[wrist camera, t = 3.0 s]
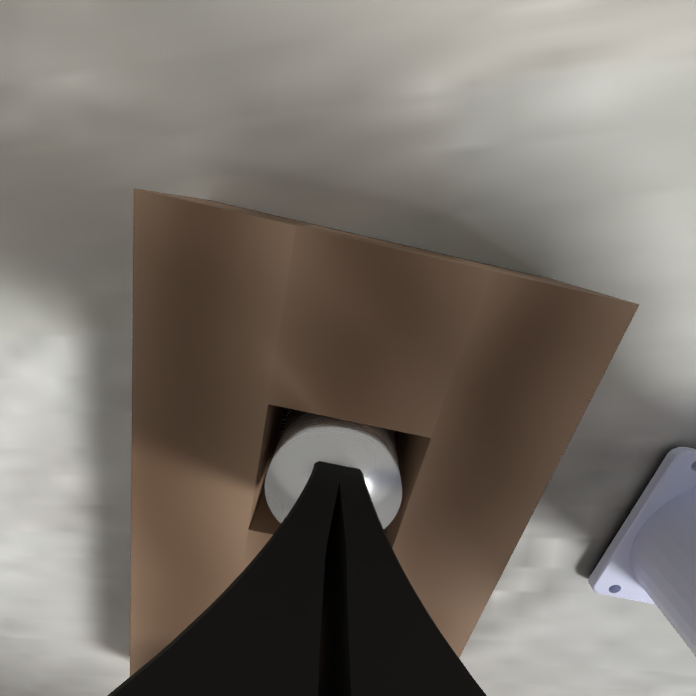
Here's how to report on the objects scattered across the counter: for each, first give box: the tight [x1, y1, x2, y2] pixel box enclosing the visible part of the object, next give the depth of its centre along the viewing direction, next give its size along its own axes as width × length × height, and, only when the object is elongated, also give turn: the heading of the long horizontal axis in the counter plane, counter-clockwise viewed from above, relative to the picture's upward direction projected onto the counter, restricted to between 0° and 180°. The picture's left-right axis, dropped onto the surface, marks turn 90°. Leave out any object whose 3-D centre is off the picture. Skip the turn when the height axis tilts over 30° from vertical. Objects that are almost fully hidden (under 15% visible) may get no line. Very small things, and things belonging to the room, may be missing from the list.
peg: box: [265, 409, 402, 529], centre depth 12 cm, size 4×4×4 cm
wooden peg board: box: [130, 189, 639, 677], centre depth 14 cm, size 12×26×4 cm, turn 168°
